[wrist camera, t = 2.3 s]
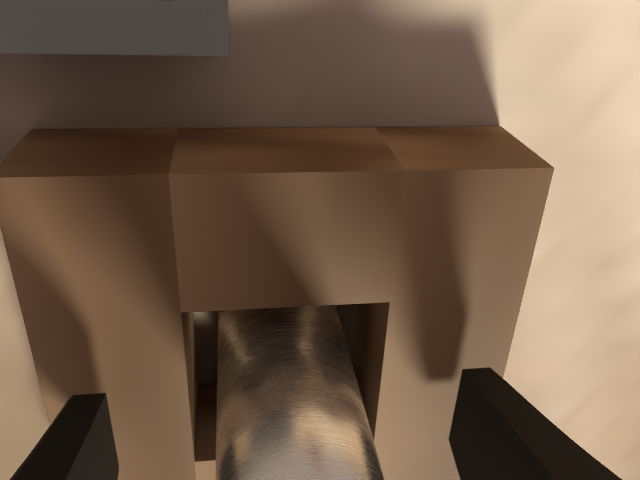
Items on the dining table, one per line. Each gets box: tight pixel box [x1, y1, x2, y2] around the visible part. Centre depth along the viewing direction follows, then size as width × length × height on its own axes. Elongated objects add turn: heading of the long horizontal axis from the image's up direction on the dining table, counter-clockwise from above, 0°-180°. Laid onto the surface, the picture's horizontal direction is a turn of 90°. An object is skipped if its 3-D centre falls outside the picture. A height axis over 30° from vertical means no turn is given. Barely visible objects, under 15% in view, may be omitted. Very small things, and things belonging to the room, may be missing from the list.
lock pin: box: [215, 305, 385, 480], centre depth 11 cm, size 4×4×9 cm
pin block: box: [0, 126, 554, 480], centre depth 14 cm, size 10×10×2 cm
